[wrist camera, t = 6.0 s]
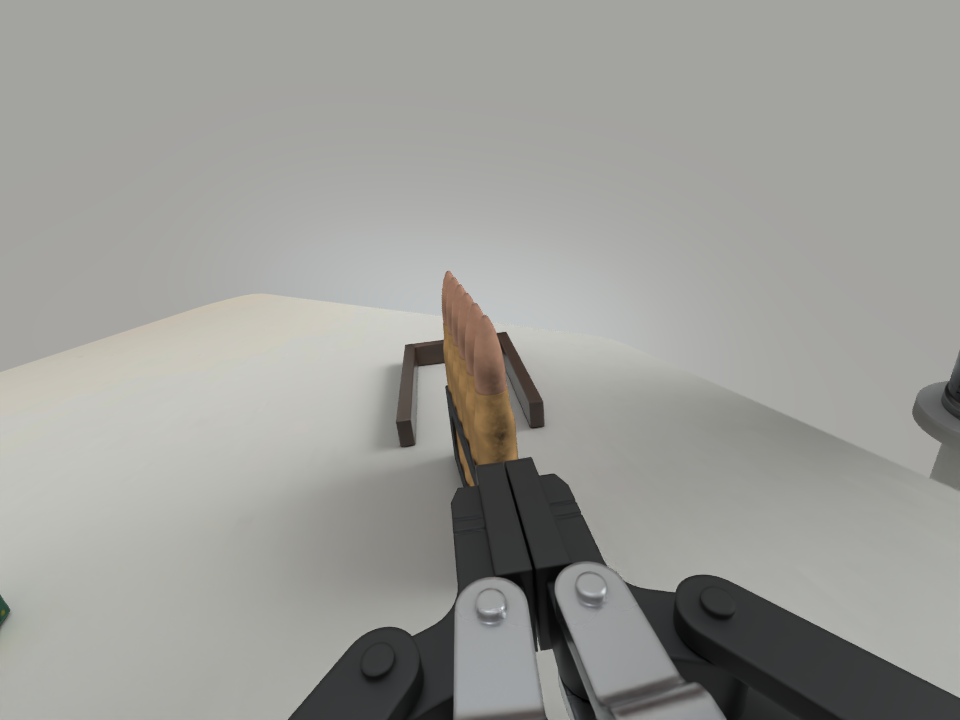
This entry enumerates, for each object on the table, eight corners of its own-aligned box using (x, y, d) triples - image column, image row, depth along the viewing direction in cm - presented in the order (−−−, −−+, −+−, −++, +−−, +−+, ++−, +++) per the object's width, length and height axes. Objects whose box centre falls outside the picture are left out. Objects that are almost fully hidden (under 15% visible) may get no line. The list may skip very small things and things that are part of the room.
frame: (507, 350, 45) (506, 331, 44) (544, 426, 31) (543, 401, 30) (408, 363, 44) (405, 344, 44) (400, 447, 30) (395, 421, 30)
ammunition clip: (454, 454, 29) (428, 270, 24) (481, 448, 29) (462, 265, 25) (492, 590, 19) (463, 327, 15) (534, 579, 20) (517, 318, 15)
